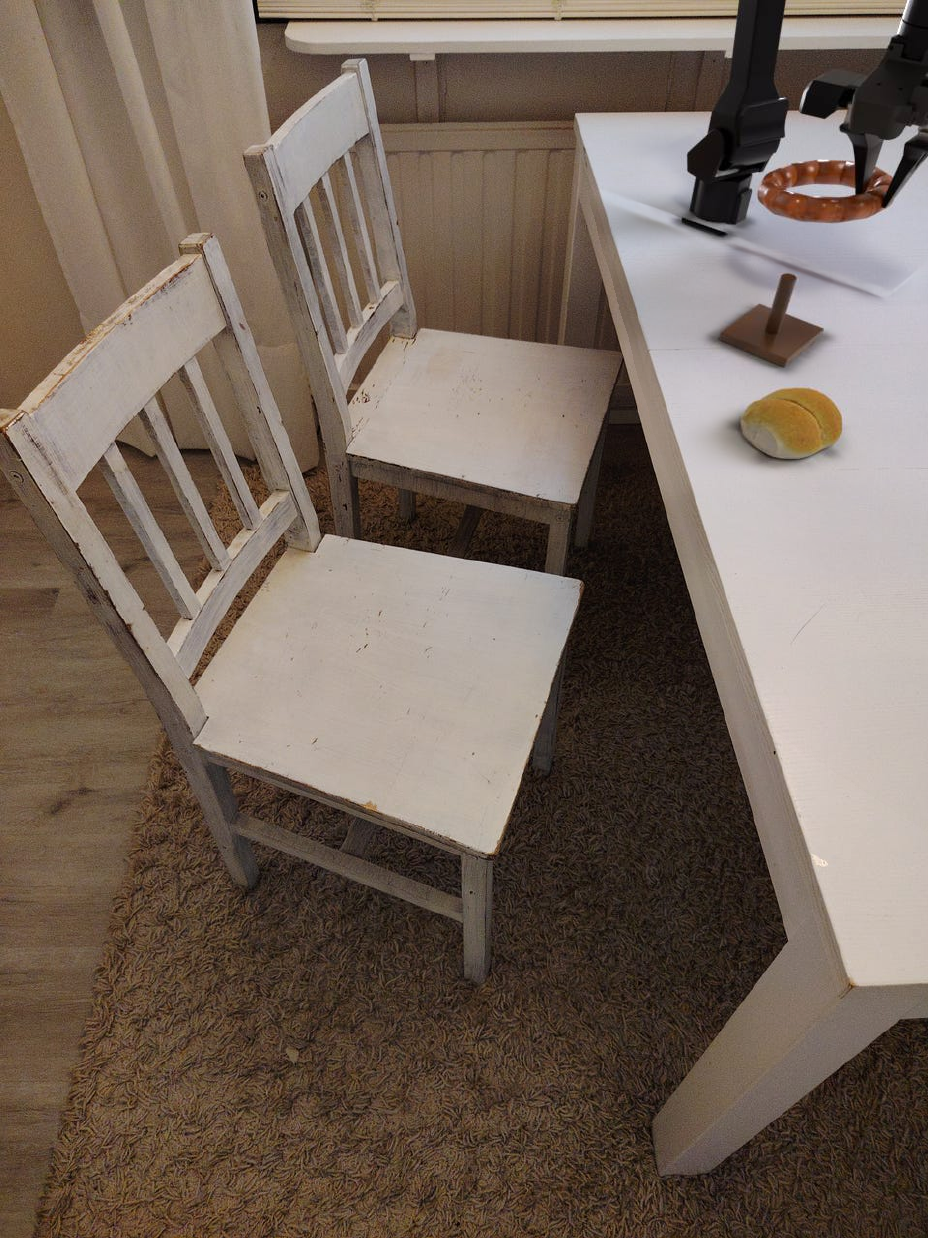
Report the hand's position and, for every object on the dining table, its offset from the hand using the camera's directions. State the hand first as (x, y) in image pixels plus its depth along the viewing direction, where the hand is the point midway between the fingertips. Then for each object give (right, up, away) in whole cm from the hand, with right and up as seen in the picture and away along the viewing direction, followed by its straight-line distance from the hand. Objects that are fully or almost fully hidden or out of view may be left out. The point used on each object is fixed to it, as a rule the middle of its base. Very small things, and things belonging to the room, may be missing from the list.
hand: (871, 203), depth 83 cm
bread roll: (-11, -26, -6) cm, 29 cm away
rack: (-9, -13, +5) cm, 16 cm away
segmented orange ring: (-3, +3, +3) cm, 6 cm away
